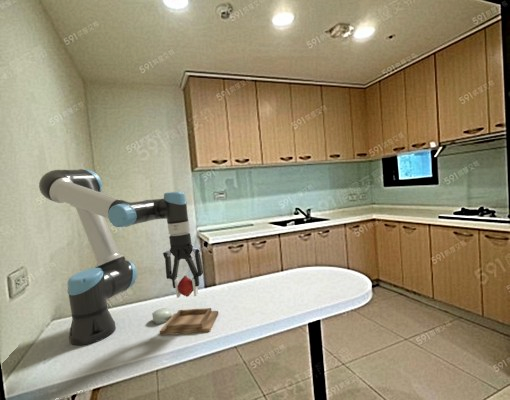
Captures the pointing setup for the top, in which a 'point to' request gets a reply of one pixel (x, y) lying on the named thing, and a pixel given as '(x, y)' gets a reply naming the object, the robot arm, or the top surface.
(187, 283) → the onion
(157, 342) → the top surface
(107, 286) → the robot arm
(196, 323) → the tray
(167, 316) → the pale green dome
